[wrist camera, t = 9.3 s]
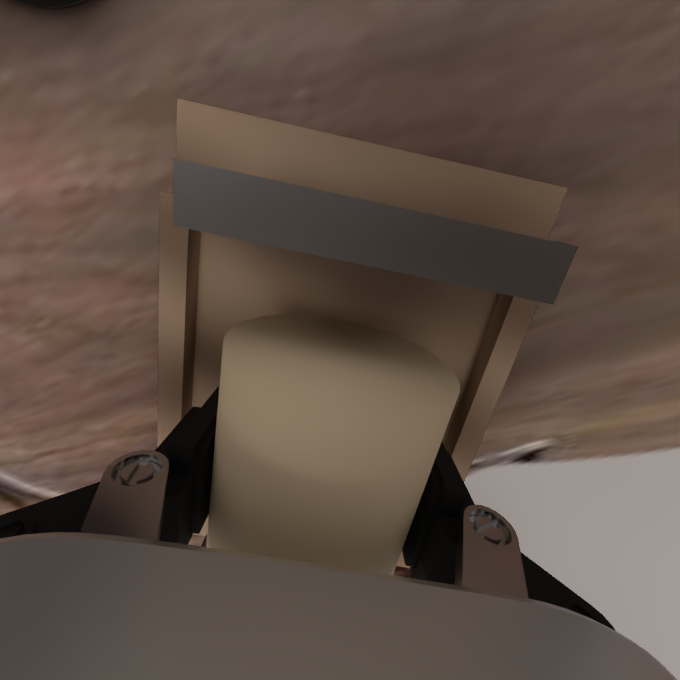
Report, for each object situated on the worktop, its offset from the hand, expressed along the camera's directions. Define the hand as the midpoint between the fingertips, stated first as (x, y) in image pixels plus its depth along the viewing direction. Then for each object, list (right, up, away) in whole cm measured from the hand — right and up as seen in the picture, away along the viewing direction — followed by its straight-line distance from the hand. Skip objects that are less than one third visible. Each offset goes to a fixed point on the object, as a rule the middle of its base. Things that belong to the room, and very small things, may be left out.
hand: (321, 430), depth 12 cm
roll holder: (0, +1, +3) cm, 4 cm away
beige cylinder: (0, -1, -2) cm, 2 cm away
